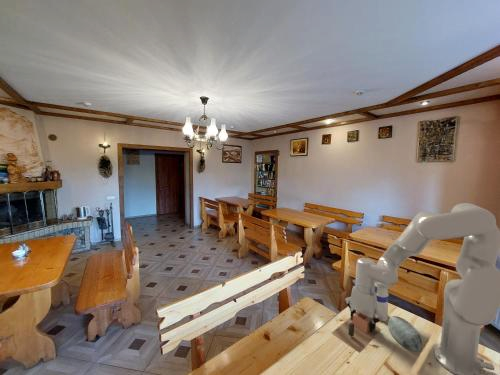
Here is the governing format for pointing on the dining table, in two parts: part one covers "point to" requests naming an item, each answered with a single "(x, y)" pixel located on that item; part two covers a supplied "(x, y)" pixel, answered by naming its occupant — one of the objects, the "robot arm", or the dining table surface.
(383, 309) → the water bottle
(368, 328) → the orange hollow square block
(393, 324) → the grey streaked oval part
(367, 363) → the dining table surface
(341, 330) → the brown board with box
